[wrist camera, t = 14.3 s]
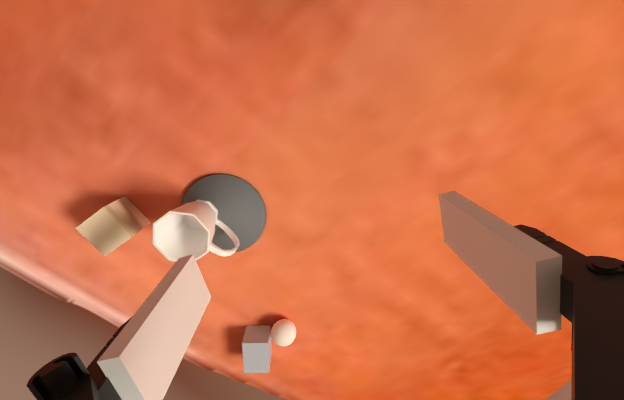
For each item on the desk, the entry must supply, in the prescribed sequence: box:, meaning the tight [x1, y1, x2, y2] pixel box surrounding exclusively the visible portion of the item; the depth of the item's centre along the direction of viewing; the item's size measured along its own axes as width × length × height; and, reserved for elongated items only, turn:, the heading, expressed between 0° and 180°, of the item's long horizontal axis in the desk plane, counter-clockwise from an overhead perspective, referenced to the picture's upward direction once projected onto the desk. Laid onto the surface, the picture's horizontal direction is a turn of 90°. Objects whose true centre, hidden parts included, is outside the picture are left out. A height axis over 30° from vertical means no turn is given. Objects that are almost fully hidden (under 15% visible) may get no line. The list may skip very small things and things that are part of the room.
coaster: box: [181, 174, 266, 252], centre depth 43 cm, size 12×12×1 cm
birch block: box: [75, 196, 150, 256], centre depth 41 cm, size 5×5×5 cm
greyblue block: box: [242, 325, 272, 373], centre depth 49 cm, size 6×4×4 cm, turn 179°
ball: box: [271, 319, 296, 346], centre depth 48 cm, size 4×4×4 cm
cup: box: [153, 199, 240, 262], centre depth 39 cm, size 7×10×8 cm
